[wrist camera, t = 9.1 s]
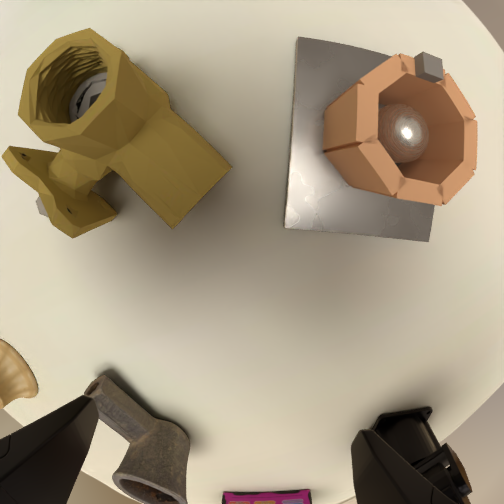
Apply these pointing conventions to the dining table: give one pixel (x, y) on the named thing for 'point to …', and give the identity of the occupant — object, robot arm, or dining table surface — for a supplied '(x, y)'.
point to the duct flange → (321, 169)
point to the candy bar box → (268, 497)
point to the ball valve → (106, 137)
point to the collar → (435, 115)
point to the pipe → (143, 447)
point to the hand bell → (14, 376)
